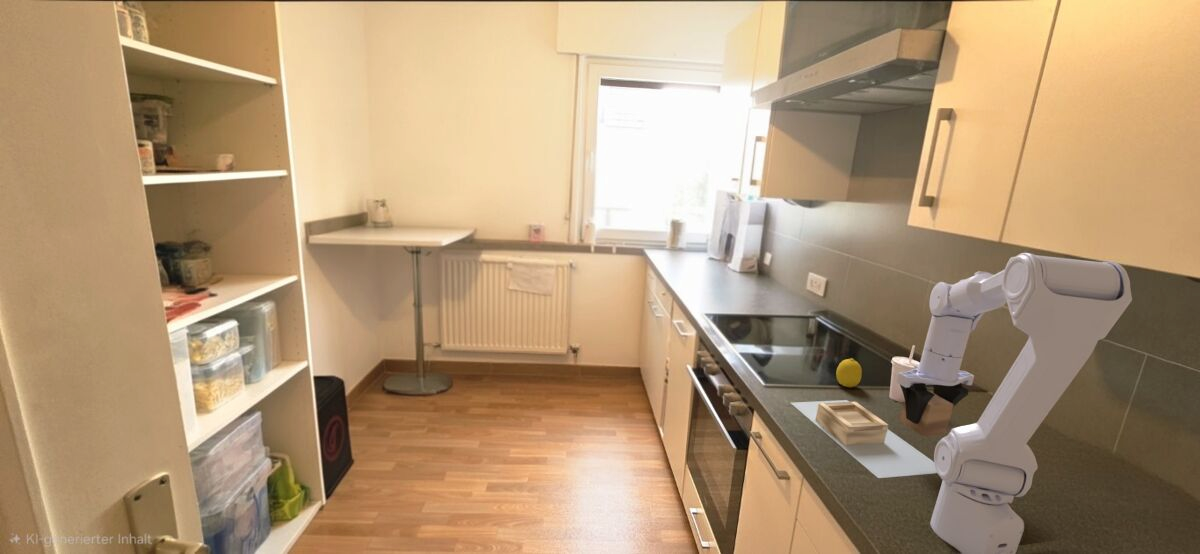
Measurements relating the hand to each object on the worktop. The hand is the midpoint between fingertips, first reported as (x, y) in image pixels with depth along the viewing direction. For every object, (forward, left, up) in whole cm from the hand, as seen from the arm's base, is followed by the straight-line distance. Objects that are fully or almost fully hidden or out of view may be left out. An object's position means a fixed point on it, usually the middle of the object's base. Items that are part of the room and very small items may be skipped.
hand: (924, 420), depth 86 cm
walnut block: (0, 0, -2) cm, 2 cm away
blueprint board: (+9, +4, -9) cm, 13 cm away
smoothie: (+23, -19, -9) cm, 31 cm away
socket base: (+10, +6, -8) cm, 14 cm away
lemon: (+29, -9, -9) cm, 32 cm away
